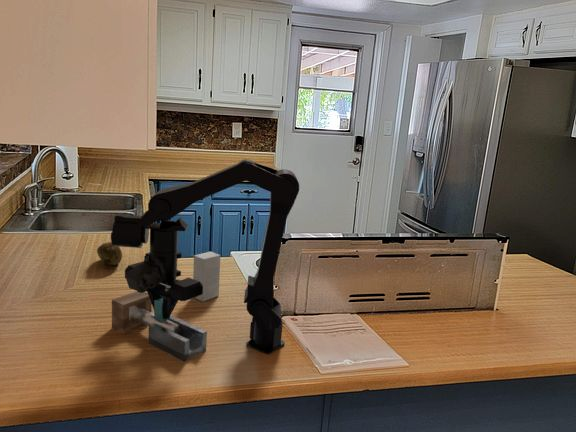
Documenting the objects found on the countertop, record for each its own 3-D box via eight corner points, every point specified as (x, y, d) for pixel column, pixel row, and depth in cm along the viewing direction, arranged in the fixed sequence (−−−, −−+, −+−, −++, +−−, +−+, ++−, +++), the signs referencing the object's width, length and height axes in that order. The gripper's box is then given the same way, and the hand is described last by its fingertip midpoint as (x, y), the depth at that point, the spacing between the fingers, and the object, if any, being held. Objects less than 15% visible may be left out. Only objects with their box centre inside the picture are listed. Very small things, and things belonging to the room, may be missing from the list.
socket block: (151, 322, 116) (151, 294, 114) (123, 333, 109) (123, 304, 108) (140, 317, 118) (140, 290, 116) (111, 328, 112) (111, 299, 110)
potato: (129, 259, 157) (129, 235, 155) (118, 273, 144) (118, 247, 143) (102, 257, 156) (102, 233, 154) (89, 271, 144) (89, 245, 142)
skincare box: (208, 291, 137) (210, 250, 134) (219, 296, 134) (221, 254, 131) (191, 297, 132) (193, 255, 129) (202, 302, 129) (204, 259, 127)
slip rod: (179, 334, 107) (180, 303, 105) (169, 339, 105) (170, 307, 103) (134, 314, 115) (135, 284, 113) (124, 318, 113) (124, 287, 111)
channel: (206, 350, 105) (206, 331, 104) (184, 361, 100) (185, 341, 99) (170, 333, 111) (171, 315, 110) (148, 343, 106) (148, 324, 105)
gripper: (103, 246, 102) (103, 315, 106) (164, 269, 92) (163, 344, 96) (145, 236, 111) (145, 300, 115) (206, 256, 101) (203, 325, 105)
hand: (162, 316), depth 107 cm, fingers closed on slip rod, 2 cm apart
